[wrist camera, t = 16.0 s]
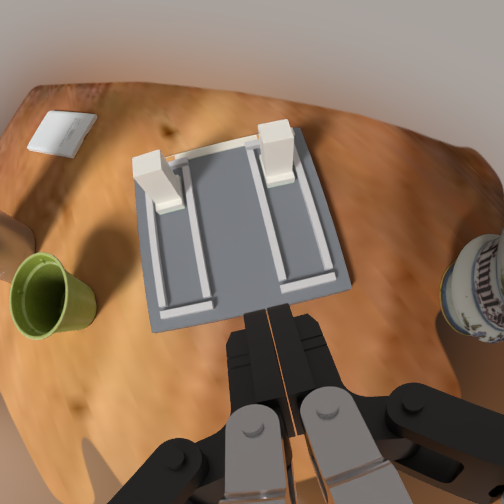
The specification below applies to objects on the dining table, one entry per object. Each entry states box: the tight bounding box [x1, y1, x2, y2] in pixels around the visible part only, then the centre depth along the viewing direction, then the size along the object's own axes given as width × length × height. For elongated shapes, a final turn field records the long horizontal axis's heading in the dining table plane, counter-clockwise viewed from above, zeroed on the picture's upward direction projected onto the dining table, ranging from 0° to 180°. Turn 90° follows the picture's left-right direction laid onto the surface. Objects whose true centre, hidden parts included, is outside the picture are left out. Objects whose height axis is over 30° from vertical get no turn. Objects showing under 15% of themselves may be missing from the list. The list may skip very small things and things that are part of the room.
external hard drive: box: [27, 111, 98, 159], centre depth 45 cm, size 2×8×12 cm
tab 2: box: [258, 119, 295, 187], centre depth 34 cm, size 3×4×8 cm
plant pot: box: [9, 252, 97, 340], centre depth 33 cm, size 9×9×9 cm
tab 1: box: [132, 149, 184, 214], centre depth 34 cm, size 3×4×8 cm
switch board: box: [134, 127, 352, 333], centre depth 37 cm, size 22×21×2 cm
